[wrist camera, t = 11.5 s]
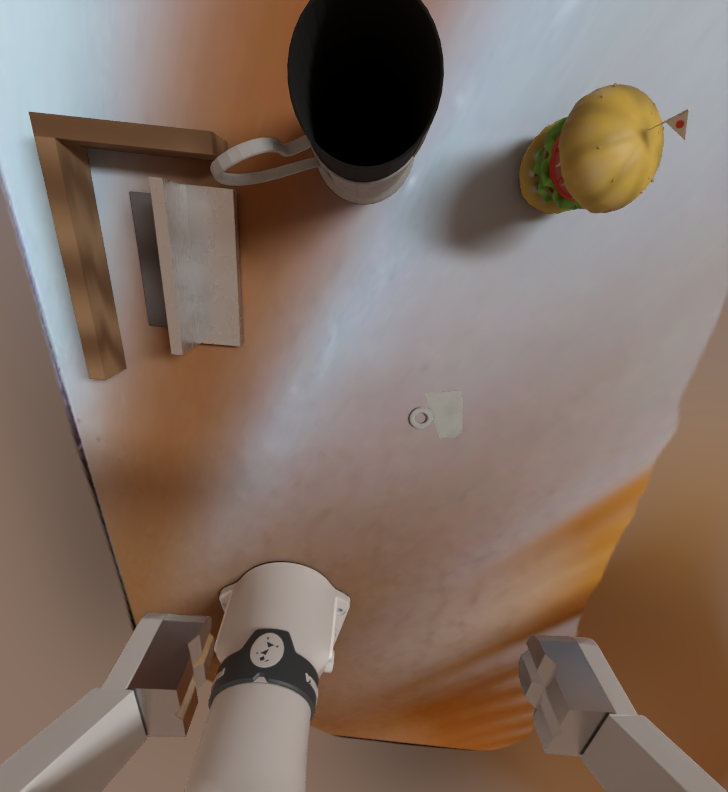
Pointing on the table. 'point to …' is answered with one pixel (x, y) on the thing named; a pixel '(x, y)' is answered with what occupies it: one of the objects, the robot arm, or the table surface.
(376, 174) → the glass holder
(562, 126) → the hamburger
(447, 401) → the grey piece
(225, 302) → the angle bracket
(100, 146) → the brown wooden l-shaped piece
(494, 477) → the table surface
